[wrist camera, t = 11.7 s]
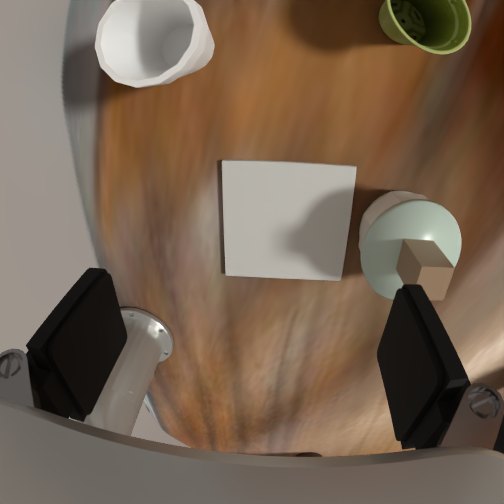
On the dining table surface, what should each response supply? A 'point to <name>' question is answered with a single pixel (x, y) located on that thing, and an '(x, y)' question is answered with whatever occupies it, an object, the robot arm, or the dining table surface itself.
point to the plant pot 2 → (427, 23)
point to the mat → (286, 218)
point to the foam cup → (153, 41)
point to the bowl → (383, 208)
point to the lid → (411, 248)
